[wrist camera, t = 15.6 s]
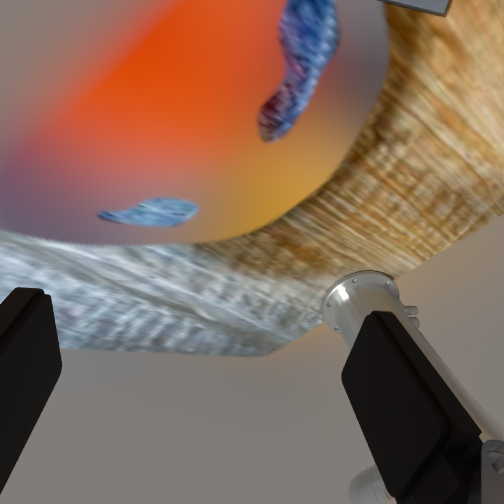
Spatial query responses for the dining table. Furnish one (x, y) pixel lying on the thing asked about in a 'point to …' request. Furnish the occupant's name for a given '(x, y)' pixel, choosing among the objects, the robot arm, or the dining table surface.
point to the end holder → (422, 5)
